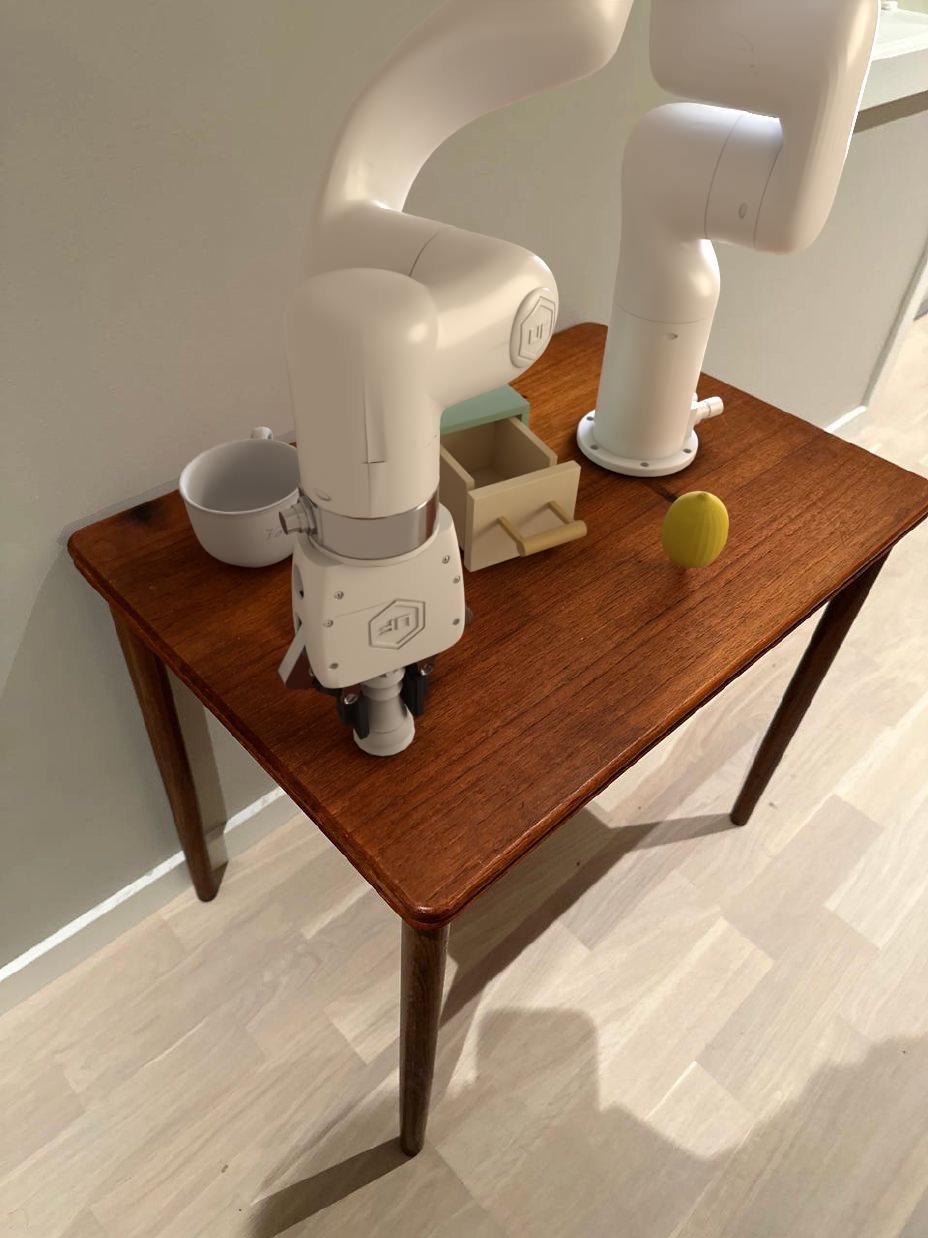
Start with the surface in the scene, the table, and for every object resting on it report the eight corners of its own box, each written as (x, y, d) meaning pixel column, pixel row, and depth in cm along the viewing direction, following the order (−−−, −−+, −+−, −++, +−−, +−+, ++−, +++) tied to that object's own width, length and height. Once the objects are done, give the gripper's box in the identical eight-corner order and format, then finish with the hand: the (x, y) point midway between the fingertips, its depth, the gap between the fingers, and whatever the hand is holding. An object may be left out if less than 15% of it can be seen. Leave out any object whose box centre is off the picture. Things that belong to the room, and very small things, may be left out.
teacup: (293, 594, 73) (283, 518, 68) (173, 573, 75) (153, 498, 69) (342, 498, 83) (337, 425, 78) (236, 482, 85) (222, 409, 79)
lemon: (642, 554, 79) (658, 482, 73) (693, 540, 80) (713, 468, 75) (675, 593, 75) (696, 519, 69) (728, 577, 77) (752, 504, 71)
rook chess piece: (370, 703, 65) (365, 628, 59) (425, 722, 64) (424, 647, 58) (342, 747, 62) (334, 672, 56) (398, 768, 61) (396, 694, 55)
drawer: (600, 569, 76) (614, 496, 70) (497, 606, 72) (503, 532, 66) (500, 467, 86) (505, 397, 81) (406, 495, 82) (405, 423, 77)
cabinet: (522, 490, 85) (530, 404, 78) (416, 523, 81) (415, 434, 74) (456, 423, 93) (458, 339, 87) (357, 450, 89) (351, 364, 82)
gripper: (251, 590, 43) (291, 799, 56) (533, 501, 49) (510, 708, 62) (206, 507, 48) (252, 718, 61) (468, 435, 54) (460, 641, 67)
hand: (383, 711), depth 61 cm, fingers closed on rook chess piece, 3 cm apart
